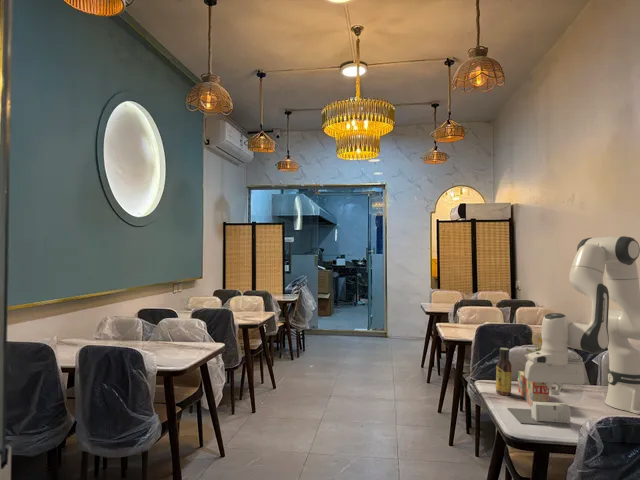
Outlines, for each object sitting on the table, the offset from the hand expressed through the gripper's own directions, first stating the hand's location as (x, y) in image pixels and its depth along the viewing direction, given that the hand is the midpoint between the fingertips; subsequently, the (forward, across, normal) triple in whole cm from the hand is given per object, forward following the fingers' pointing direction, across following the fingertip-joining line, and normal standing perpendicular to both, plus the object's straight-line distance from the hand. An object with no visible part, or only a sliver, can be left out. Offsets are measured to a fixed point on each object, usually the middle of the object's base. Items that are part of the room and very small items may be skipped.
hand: (554, 394), depth 157 cm
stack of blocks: (+10, 0, -22) cm, 24 cm away
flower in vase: (+9, -9, -44) cm, 46 cm away
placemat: (+9, +6, -1) cm, 11 cm away
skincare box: (+6, -4, +2) cm, 7 cm away
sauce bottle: (+9, +10, -28) cm, 31 cm away
